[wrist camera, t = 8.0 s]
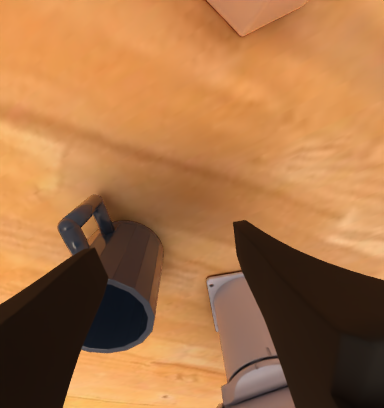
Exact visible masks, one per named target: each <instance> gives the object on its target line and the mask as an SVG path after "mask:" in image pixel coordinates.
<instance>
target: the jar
mask: <svg viewBox="0 0 384 408" xmlns="http://www.w3.org/2000/svg"><path fill="white" fill-rule="evenodd" d="M308 1H309V0H207V2H208V3H209V4H210V5H211V6H212V7H213V8H214V9H215V10H216V11H217V12H218V13H219V14H220V15H221V16H222V17H223V18H224V19H225V20H226V21H227V22H228V23H229V25H230V26H231V27H232V28H233V29H234V30H235V31H236V32H237V33H238V34H239V35H240V36H245V35H247V34H249V33H251V32H253V31H255V30H257V29H259V28H261V27H263V26H265V25H267V24H269V23H271V22H273V21H275V20H277V19H279V18H281V17H283V16H285V15H287V14H289V13H291V12H293V11H295V10H297V9H299V8H301V7H302V6H304V5H305V4H306V3H307V2H308Z"/></svg>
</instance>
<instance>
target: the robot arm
mask: <svg viewBox="0 0 384 408" xmlns="http://www.w3.org/2000/svg"><path fill="white" fill-rule="evenodd" d="M233 226H234V235H235V244H236V253H237V257H238V260H239V264H240V267H241V270H242V272H237V273H231V274H225V275H219V276H213V277H208V278H207V280H206V281H207V287H208V292H209V298H210V303H211V308H212V314H213V319H214V324H215V330H216V332H219V336H220V342H221V348H222V354H223V360H224V366H225V372H226V377H227V384H226V385H223V386H222V387H221V390H222V397H223V403H221V404H219V405H218V406H217V408H384V280H381V279H377V278H374V277H370V276H366V275H363V274H360V273H357V272H353V271H350V270H347V269H344V268H341V267H338V266H335V265H333V264H330V263H327V262H324V261H322V260H319V259H317V258H314V257H312V256H309V255H307V254H305V253H302V252H300V251H298V250H296V249H294V248H292V247H290V246H288V245H286V244H284V243H282V242H280V241H278V240H277V239H275V238H273V237H271V236H270V235H268V234H266V233H265V232H263V231H261V230H260V229H258V228H257V227H255V226H254V225H252V224H251V223H249V222H247V221H246V220H243V221H237V222H233ZM108 278H109V277H108V275H107V273H106V271H105V268H104V266H103V264H102V262H101V260H100V257H99V255H98V253H97V251H96V249H95V247H93V248H88V249H83V250H81V251H79V252H78V253H76V254H75V255H73V256H72V257H70V258H69V259H67V260H66V261H64V262H63V263H61V264H60V265H59V266H57V267H56V268H54V269H53V270H51V271H50V272H49V273H47V274H46V275H44V276H43V277H41V278H40V279H39V280H37V281H36V282H34V283H33V284H31V285H30V286H28V287H27V288H25V289H24V290H22V291H21V292H19V293H18V294H16V295H15V296H13V297H12V298H10V299H8V300H7V301H5V302H4V303H2V304H0V408H63V405H64V401H65V398H66V395H67V391H68V388H69V384H70V381H71V378H72V375H73V372H74V369H75V366H76V363H77V360H78V357H79V354H80V351H81V349H82V346H83V343H84V341H85V339H86V336H87V334H88V332H89V329H90V327H91V325H92V322H93V320H94V318H95V316H96V313H97V311H98V308H99V306H100V304H101V301H102V299H103V296H104V293H105V290H106V286H107V282H108ZM210 284H212V285H210Z"/></svg>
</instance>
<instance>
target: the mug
mask: <svg viewBox="0 0 384 408" xmlns="http://www.w3.org/2000/svg"><path fill="white" fill-rule="evenodd" d="M92 215H93V216H94V219H95V221H96V223H97V225H98V228H99V229H98V230H97V231H96V232H95V233H94V234H93V235H92V236H91V237H90V238H89V240H88V241H87V239H86V237H85V235H84V233H83V231H82V229H81V227H82V226H83V225H84V224H85V223H86V222H87V221H88V220H89V219H90V217H91V216H92ZM57 228H58V231H59V233H60V235H61V237H62V239H63V240H64V242H65V244H66V246H67V248H68V250H69V251H70V253H71V255H72V256H73V255H75V254H76V253H78V252H79V251H81V250H83V249H88V248H93V247H95V249H96V251H97V253H98V255H99V257H100V260H101V262H102V264H103V266H104V268H105V271H106V273H107V275H108V277H109V278H108V282H107V286H106V290H105V293H104V296H103V299H102V301H101V304H100V306H99V308H98V311H97V313H96V316H95V318H94V320H93V322H92V325H91V327H90V329H89V332H88V334H87V336H86V339H85V341H84V343H83V346H82V349H81V350H84V351H87V352H97V353H113V352H119V351H125V350H128V349H130V348H132V347H134V346H136V345H138V344H140V343H142V342H143V341H144V340H145V339H146V338H147V337H148V336H149V334H150V333H151V332H152V330H153V325H154V320H155V314H156V306H157V299H158V292H159V285H160V278H161V271H162V263H163V256H164V253H163V246H162V244H161V241H160V240H159V238H158V237H157V235H156V234H155V233H154V232H153V231H152V230H150V229H149V228H148V227H146V226H144V225H142V224H140V223H137V222H132V221H114V222H112V221H111V218H110V216H109V213H108V211H107V209H106V206H105V204H104V201H103V199H102V197H101V196H99V195H96V194H94V195H91V196H90V197H88V198H87V199H86V200H85V201H84V202H82V203H81V204H80V205H79V206H78V207H76V208H75V209H74V210H73V211H72V212H70V213H69V214H68V215H67V216H65V217H64V218H63V219H62V220H61V221H60V222H59V223H58V226H57Z"/></svg>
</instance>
